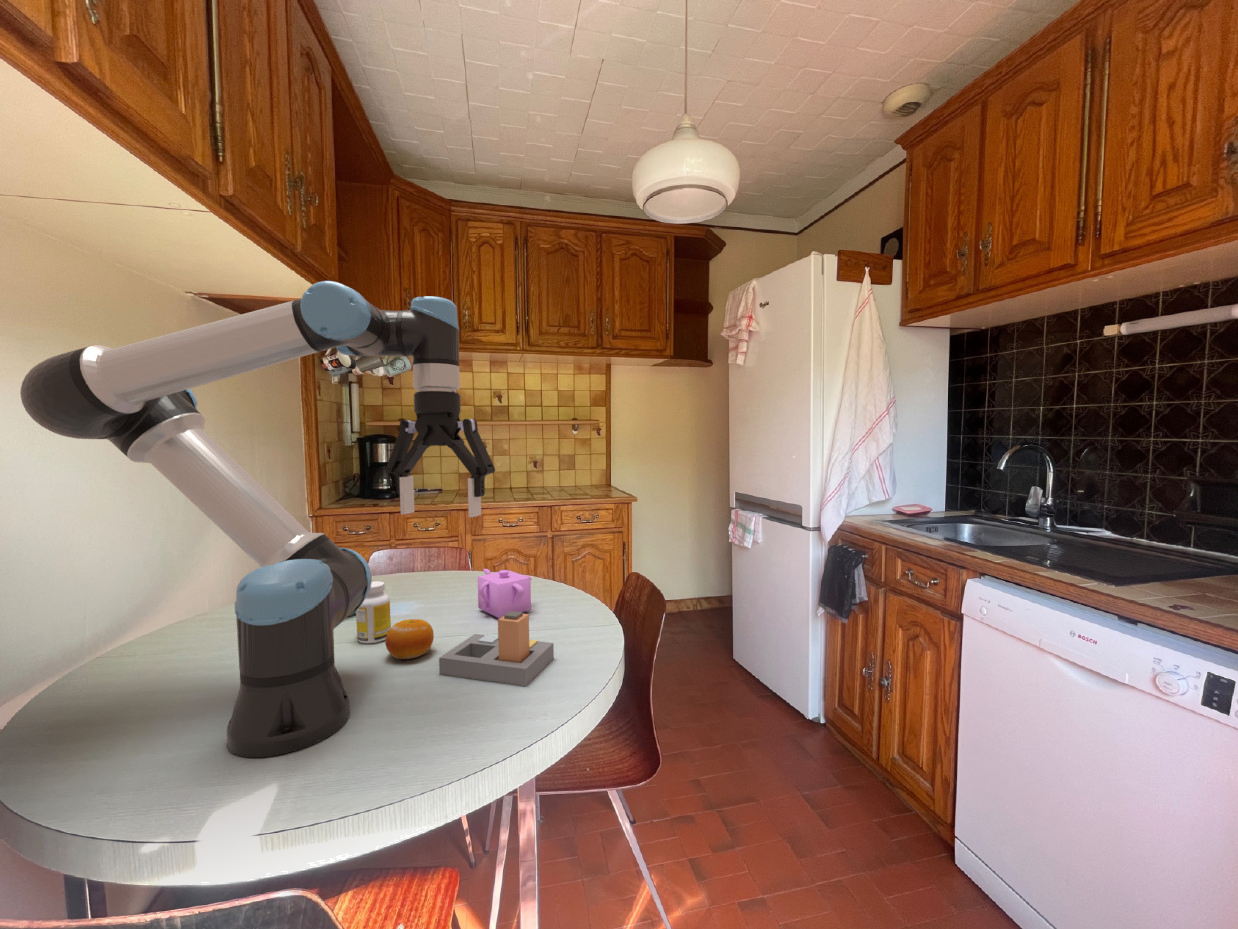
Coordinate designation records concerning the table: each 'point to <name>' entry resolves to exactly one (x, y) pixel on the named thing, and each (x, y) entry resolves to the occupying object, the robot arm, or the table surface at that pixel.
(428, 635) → the fruit
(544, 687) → the table surface
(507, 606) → the teapot
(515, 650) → the plug
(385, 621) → the pill bottle
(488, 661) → the socket board
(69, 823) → the table surface
